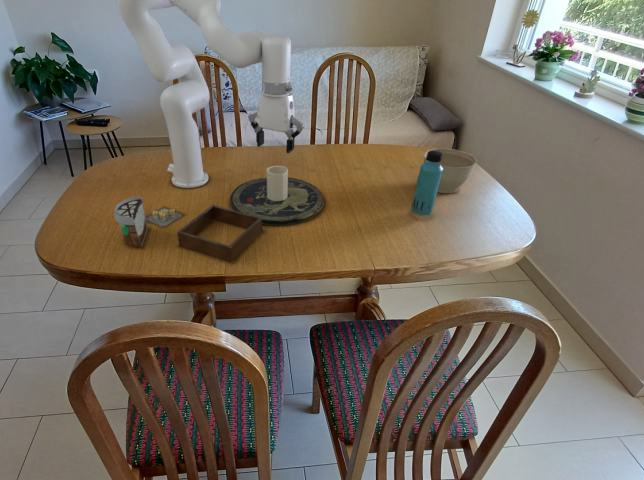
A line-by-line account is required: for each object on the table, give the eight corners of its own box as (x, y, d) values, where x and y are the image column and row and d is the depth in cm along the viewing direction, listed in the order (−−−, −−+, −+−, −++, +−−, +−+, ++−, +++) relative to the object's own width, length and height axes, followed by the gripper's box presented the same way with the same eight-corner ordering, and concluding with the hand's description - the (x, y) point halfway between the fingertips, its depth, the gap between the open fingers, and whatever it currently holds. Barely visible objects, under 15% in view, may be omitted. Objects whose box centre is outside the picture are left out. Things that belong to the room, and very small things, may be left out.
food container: (127, 227, 118) (118, 196, 112) (148, 226, 118) (141, 195, 112) (116, 251, 108) (107, 219, 102) (140, 250, 108) (132, 218, 103)
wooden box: (179, 246, 110) (176, 232, 108) (213, 217, 122) (212, 204, 120) (231, 262, 105) (230, 248, 102) (262, 231, 117) (262, 217, 114)
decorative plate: (216, 214, 120) (244, 172, 144) (217, 220, 121) (244, 177, 145) (317, 226, 116) (329, 180, 139) (317, 232, 117) (328, 185, 140)
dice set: (176, 215, 123) (175, 209, 122) (164, 222, 120) (163, 217, 119) (164, 210, 126) (163, 205, 124) (152, 218, 122) (151, 212, 121)
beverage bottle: (432, 211, 126) (448, 149, 114) (431, 222, 121) (447, 158, 109) (410, 208, 128) (424, 146, 116) (408, 218, 123) (422, 154, 111)
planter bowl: (443, 174, 148) (450, 145, 142) (477, 193, 136) (487, 162, 130) (408, 182, 142) (414, 152, 136) (440, 202, 131) (449, 171, 124)
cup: (263, 198, 128) (262, 171, 123) (273, 190, 133) (272, 164, 128) (282, 202, 126) (282, 176, 121) (290, 194, 131) (291, 168, 126)
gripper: (310, 89, 110) (306, 149, 121) (254, 80, 116) (255, 138, 126) (299, 96, 105) (296, 158, 115) (241, 86, 111) (243, 146, 121)
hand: (274, 148), depth 121 cm, fingers open, 9 cm apart
